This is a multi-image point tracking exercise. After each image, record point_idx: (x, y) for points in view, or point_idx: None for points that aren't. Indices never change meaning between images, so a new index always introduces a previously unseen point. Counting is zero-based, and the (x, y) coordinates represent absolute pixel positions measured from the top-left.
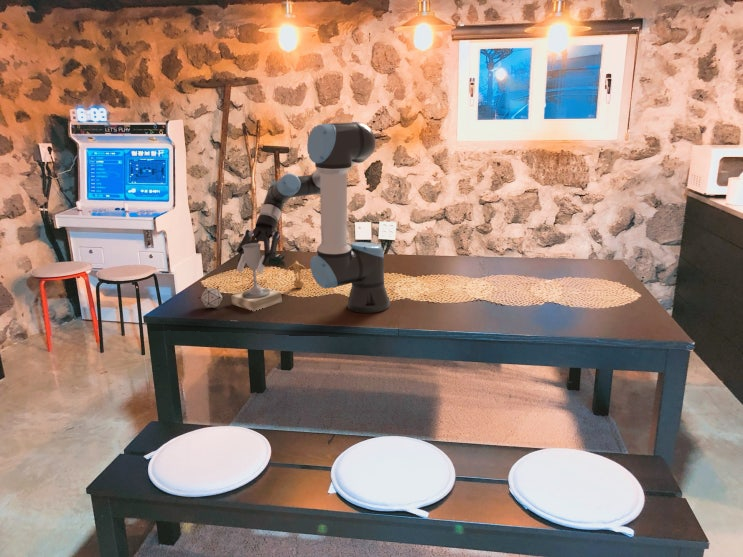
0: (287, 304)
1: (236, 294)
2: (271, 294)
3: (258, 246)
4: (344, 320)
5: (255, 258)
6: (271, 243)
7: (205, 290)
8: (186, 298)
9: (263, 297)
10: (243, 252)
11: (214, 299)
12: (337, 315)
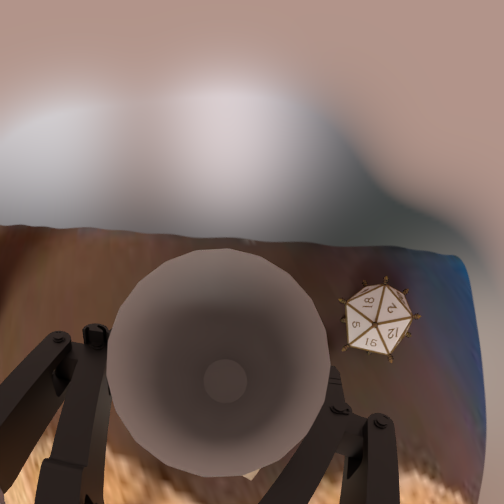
0: None
1: None
2: None
3: (122, 309)
4: (11, 250)
5: (182, 319)
6: (20, 396)
7: (406, 306)
8: (466, 392)
9: None
10: (321, 409)
11: (356, 294)
12: (15, 277)
